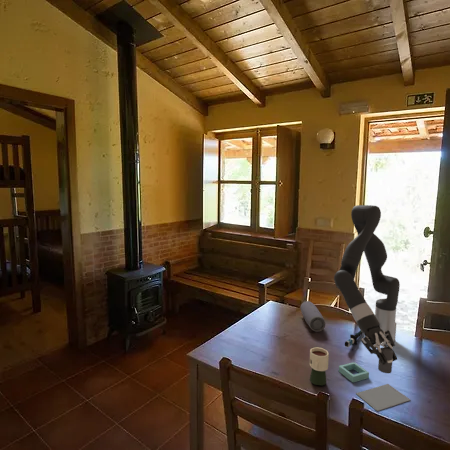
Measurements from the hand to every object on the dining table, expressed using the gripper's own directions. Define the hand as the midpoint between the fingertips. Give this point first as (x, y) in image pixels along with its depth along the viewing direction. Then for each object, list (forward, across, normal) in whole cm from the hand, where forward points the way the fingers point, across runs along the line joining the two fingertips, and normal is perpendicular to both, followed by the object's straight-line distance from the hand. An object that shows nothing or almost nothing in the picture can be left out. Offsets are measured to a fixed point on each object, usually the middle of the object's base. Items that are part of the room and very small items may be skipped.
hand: (390, 361), depth 115 cm
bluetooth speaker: (-33, +18, +54) cm, 66 cm away
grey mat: (+9, 0, +12) cm, 15 cm away
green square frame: (-1, +2, +23) cm, 23 cm away
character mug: (-3, -15, +25) cm, 29 cm away
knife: (-15, +25, +37) cm, 47 cm away
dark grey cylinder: (+2, 0, +4) cm, 5 cm away
